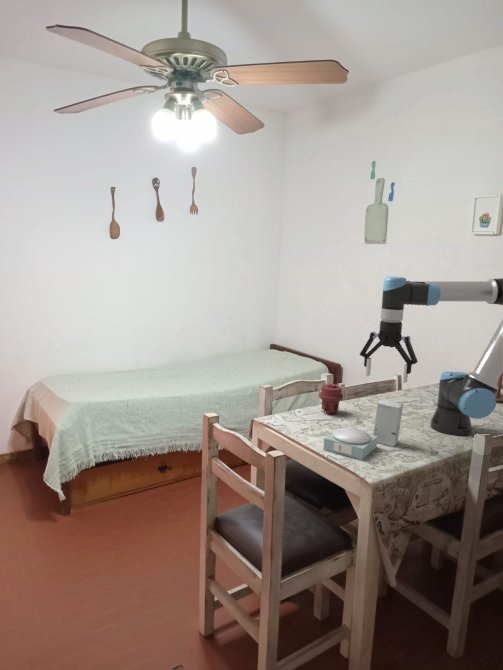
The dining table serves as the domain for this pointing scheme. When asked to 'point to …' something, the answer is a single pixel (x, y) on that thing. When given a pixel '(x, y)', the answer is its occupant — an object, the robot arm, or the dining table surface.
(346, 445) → the kitchen scale
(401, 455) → the dining table surface
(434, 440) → the dining table surface
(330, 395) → the mechanical component
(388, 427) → the skincare box
